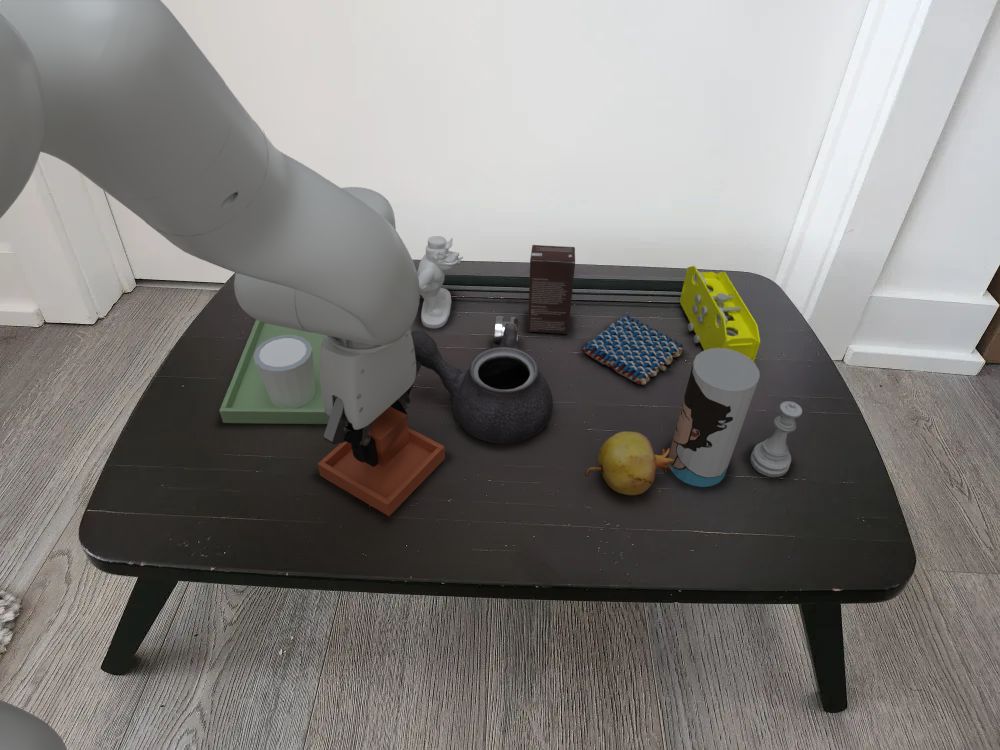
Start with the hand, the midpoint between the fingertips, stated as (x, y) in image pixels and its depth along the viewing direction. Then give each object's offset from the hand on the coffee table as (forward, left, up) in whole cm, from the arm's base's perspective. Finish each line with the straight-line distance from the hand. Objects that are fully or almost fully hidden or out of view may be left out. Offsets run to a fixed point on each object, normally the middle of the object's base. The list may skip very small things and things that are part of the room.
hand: (381, 444), depth 81 cm
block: (0, 0, 0) cm, 0 cm away
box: (+34, -2, -4) cm, 34 cm away
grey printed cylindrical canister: (+21, -30, -4) cm, 37 cm away
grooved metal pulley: (+26, 0, -4) cm, 26 cm away
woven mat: (+35, -15, -4) cm, 38 cm away
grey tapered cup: (+2, +17, -3) cm, 17 cm away
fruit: (+14, -24, -4) cm, 28 cm away
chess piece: (+26, -37, -4) cm, 45 cm away
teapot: (+15, -3, -4) cm, 16 cm away
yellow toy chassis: (+44, -23, -4) cm, 50 cm away
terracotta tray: (0, 0, -4) cm, 4 cm away
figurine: (+28, +13, -4) cm, 31 cm away
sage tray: (+11, +22, -4) cm, 25 cm away
